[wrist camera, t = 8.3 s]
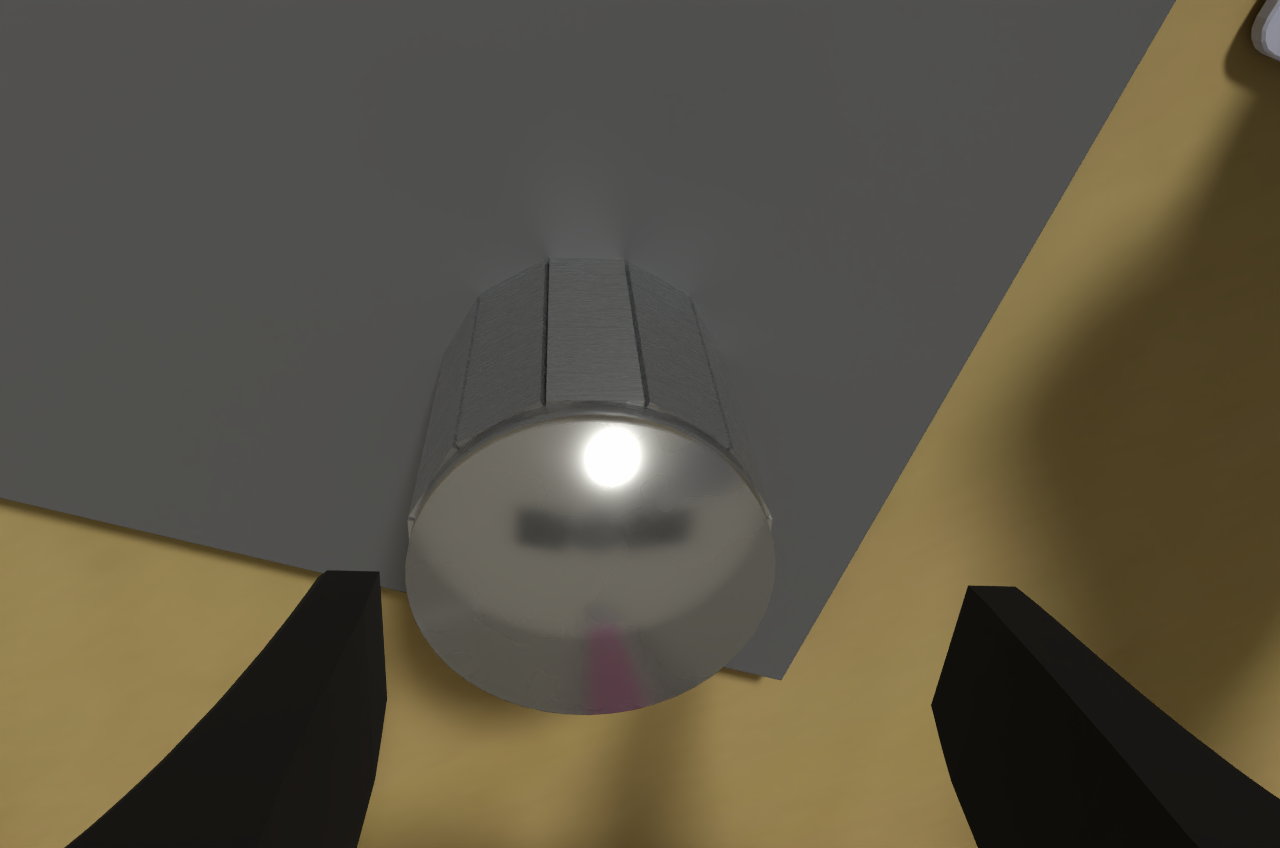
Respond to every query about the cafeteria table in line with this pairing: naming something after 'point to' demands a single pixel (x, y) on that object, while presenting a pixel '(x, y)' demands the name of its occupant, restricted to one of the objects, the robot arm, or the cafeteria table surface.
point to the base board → (508, 236)
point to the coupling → (587, 496)
